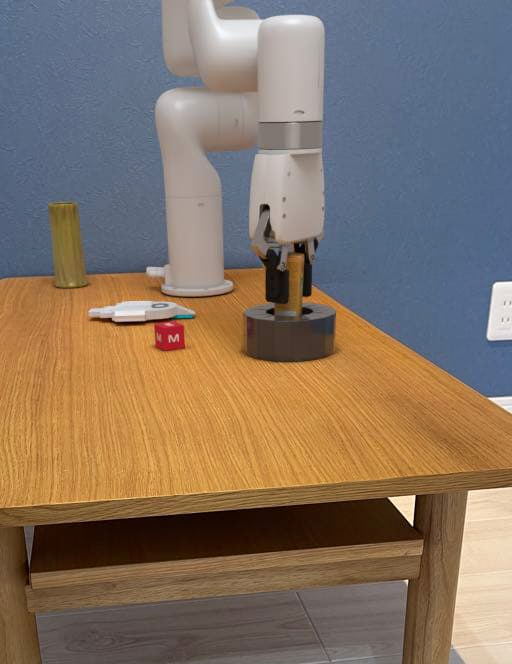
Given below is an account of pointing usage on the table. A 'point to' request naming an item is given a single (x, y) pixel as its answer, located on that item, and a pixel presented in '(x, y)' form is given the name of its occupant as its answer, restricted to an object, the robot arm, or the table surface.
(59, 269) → the vase
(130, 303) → the toy rocket
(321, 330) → the tape roll
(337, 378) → the table surface
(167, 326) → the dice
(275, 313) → the supplement box
